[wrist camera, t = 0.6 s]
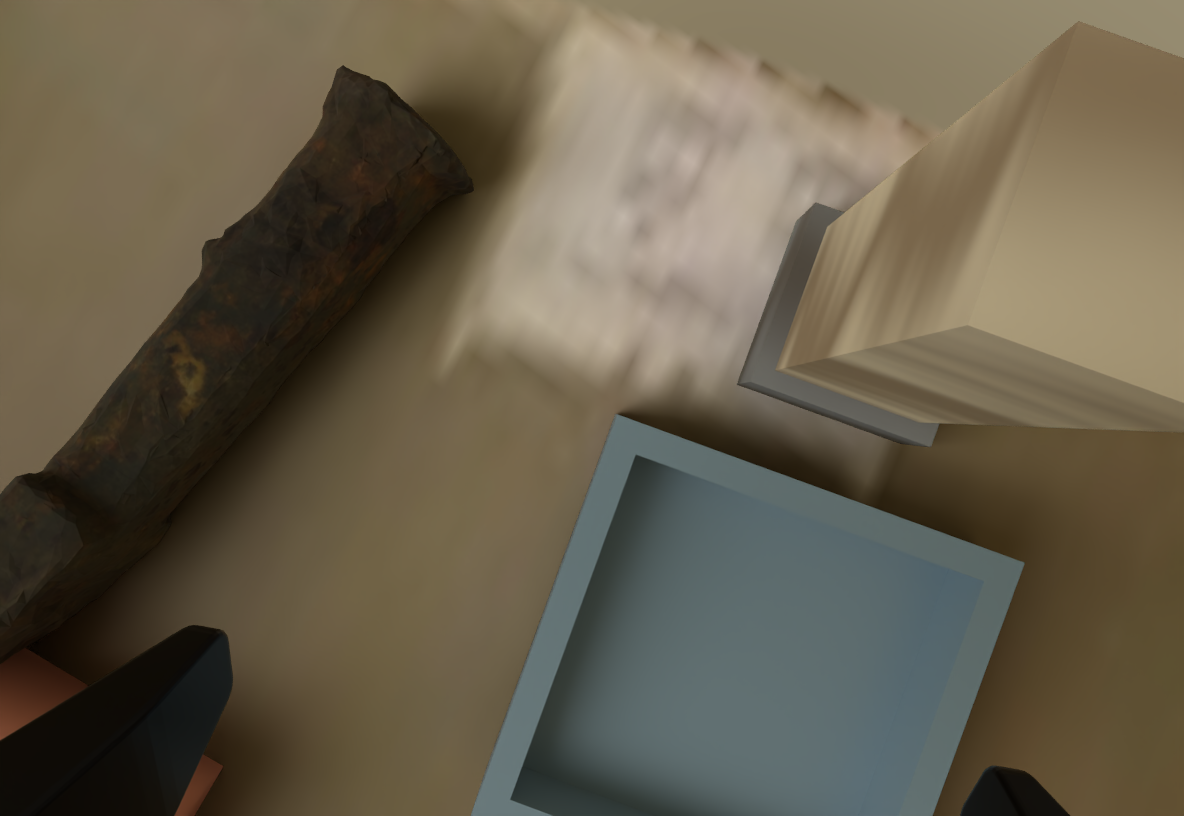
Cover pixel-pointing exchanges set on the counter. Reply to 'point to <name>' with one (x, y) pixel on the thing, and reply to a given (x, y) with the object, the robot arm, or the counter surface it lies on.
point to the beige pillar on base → (1002, 264)
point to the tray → (743, 649)
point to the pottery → (37, 686)
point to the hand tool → (220, 353)
